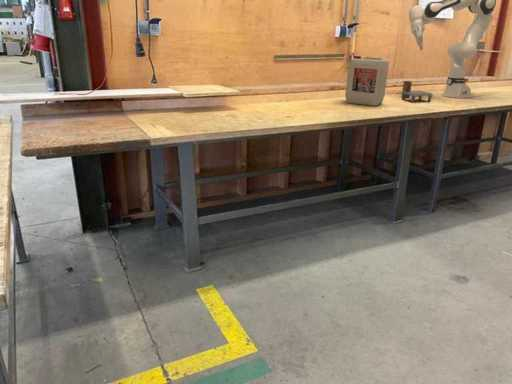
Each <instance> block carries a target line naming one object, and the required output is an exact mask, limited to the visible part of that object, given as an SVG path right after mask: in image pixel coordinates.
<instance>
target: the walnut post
mask: <svg viewBox="0 0 512 384" xmlns="http://www.w3.org/2000/svg"><path fill="white" fill-rule="evenodd" d="M412 84H413V81H410V80H404V81H403V84H402V91H401V99H402V96H403V91H412ZM410 96H411V95H407V94H406V97H405V99H410Z"/></svg>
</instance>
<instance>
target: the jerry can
mask: <svg viewBox="0 0 512 384" xmlns="http://www.w3.org/2000/svg"><path fill="white" fill-rule="evenodd" d="M389 63H390V60H389V59H387V58H385V57H380V56H379V57H375V56H374V57H373V56H365V57H361V55H353V57H352V58H351V59H350V60H349V63H348V66H347V78H346V87H345V96H344V97H345V102H346V103H348V104H354V105H364V106H372V107H376V106H378V105H380V104H382V103H383V102H384V98H385V97H386V95H385V94H386V86H387V80H388V75H389V67H390V66H389Z"/></svg>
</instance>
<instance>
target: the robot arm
mask: <svg viewBox="0 0 512 384" xmlns="http://www.w3.org/2000/svg"><path fill="white" fill-rule="evenodd" d="M496 4H497V0H440V1H430V2H429V3H427V4H426V5H425V7H423V6H421V5H419V4H417V5H414V6H412V7H411V8H410V9H409V11H408V19H409V22H410V30H411V34H412V35H413V37H414V38H415V40H416V44H417V46H418V47H419V50H420V51H423V50H424V48H423V45H424V36H423V34H424V32H425V28H426V27H425V25H428V24H429V25H430V23H432V22H434V20H435V18H436V17H437V16H438V15H439V14H440V13H442V11H445V10H447V9H450V8H451V9H452V10H453V11H456V12H457V11H462V10H464V9H466V8H467V9H468V10H469V12H470V13H472V14H476V17H475V19H474V20H473V22H472V23H471V24H470V25H469V27H468V28H467V30H466V31H465V39H464V40H463V42H454V43H453V42H452V43H451V44H450V45H449V46H448V48H447V54H448V56H449V62H450V65H449V66H450V67H449V72H448V77H447V80H446V85H445V89H444V92H443V94H442V96H443V97H448V98H455V99H456V98H458V99H467V98H469V99H470V98H473V97H474V95H472V93H471V88H470V87H469V86H468V84H467V83H466V82H469V78H466V77H465V76H466V72H467V65H466V63H465V60H469V59H470V60H471V59H473V58H474V57H476V55H477V53H478V44H479V41H480V40H481V38H482V37H483V35H485V32H487V30H488V28H489V26H490V25H491V23H492V21H493V17H494V16H493V14H492V13H493V12H494V9H495V7H496Z"/></svg>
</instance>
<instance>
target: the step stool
mask: <svg viewBox="0 0 512 384" xmlns="http://www.w3.org/2000/svg"><path fill="white" fill-rule="evenodd" d="M406 94H407V95H410V96H411V99H410V103H412V104H413V103H414V104H415V98H416V97H418V100H422V98H423V97H427V103H431V101H432V96H433V95H434V94H433V93H432V92H429V91H424V90H411V91H403V96H402V95H401V96H402V98H401V100H402V101H406V98H405V97H406Z"/></svg>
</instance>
